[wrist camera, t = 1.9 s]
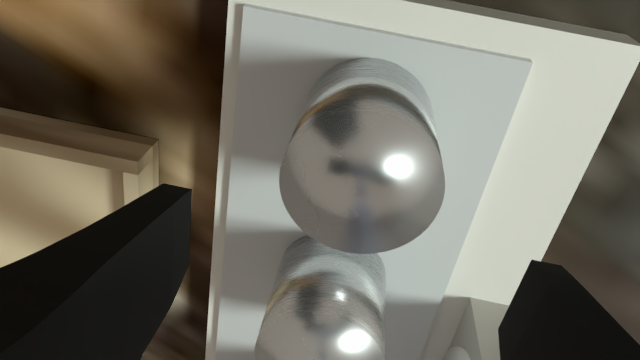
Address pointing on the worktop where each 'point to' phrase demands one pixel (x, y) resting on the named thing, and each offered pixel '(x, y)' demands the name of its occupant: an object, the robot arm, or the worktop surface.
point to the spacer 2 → (324, 306)
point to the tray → (65, 178)
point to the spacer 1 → (364, 159)
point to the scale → (455, 147)
